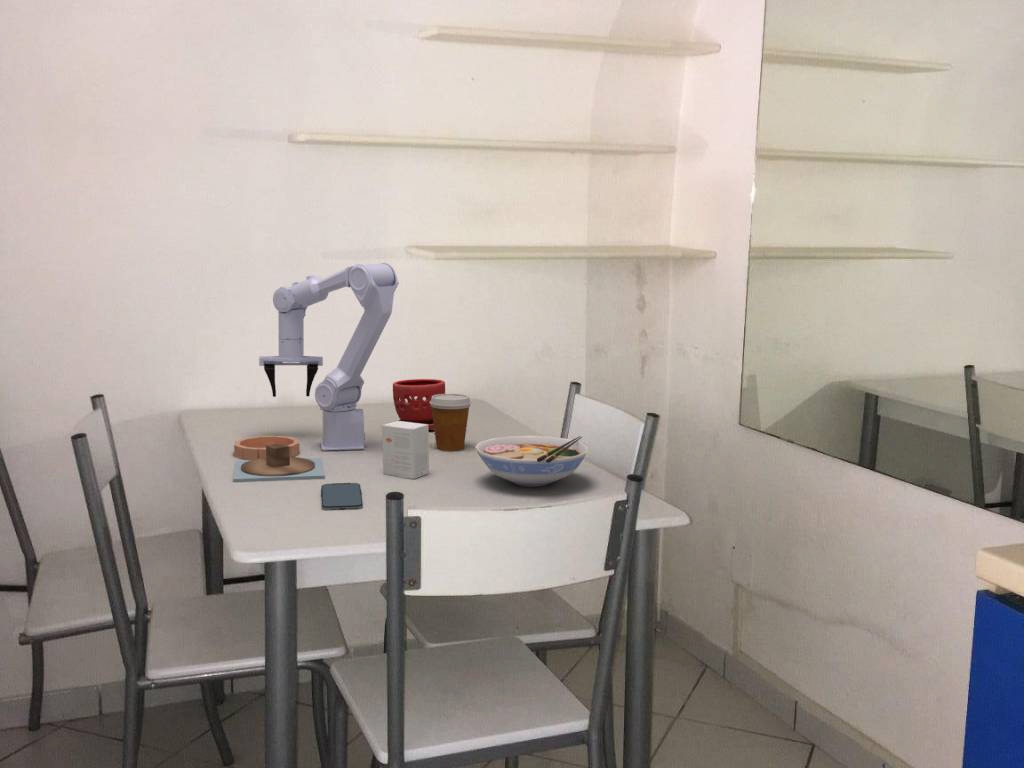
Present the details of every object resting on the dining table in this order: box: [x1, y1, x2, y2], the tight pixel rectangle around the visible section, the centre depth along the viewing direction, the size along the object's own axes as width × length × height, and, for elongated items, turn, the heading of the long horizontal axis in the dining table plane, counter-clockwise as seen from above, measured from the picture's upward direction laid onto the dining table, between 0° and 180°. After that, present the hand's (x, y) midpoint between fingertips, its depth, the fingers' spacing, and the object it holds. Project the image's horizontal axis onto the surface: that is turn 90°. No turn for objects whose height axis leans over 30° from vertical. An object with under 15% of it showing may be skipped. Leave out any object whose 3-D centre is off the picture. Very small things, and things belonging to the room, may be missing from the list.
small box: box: [381, 420, 430, 480], centre depth 219 cm, size 8×6×10 cm
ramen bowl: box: [474, 435, 589, 488], centre depth 213 cm, size 25×23×8 cm
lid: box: [241, 444, 315, 476], centre depth 220 cm, size 15×15×5 cm
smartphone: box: [320, 482, 364, 511], centre depth 200 cm, size 8×2×15 cm
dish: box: [233, 435, 300, 461], centre depth 236 cm, size 14×14×2 cm
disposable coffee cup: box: [430, 393, 472, 452], centre depth 243 cm, size 10×10×12 cm
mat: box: [232, 457, 326, 483], centre depth 221 cm, size 18×16×1 cm
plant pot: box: [392, 378, 446, 432], centre depth 266 cm, size 13×13×12 cm
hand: (291, 395), depth 250 cm, fingers open, 7 cm apart
